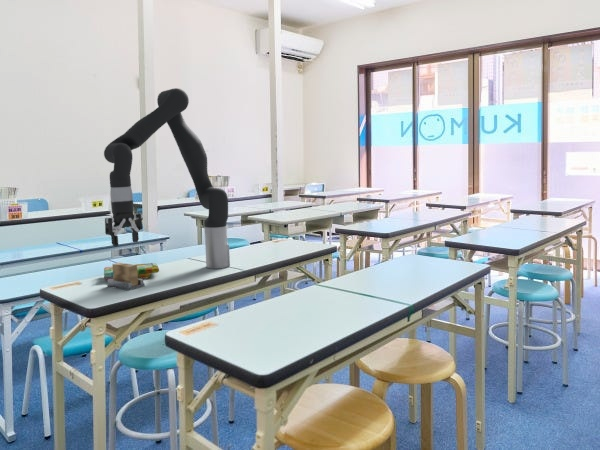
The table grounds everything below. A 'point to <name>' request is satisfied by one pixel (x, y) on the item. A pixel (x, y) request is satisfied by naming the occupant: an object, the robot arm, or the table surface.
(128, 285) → the sill track
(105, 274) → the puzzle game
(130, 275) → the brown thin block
